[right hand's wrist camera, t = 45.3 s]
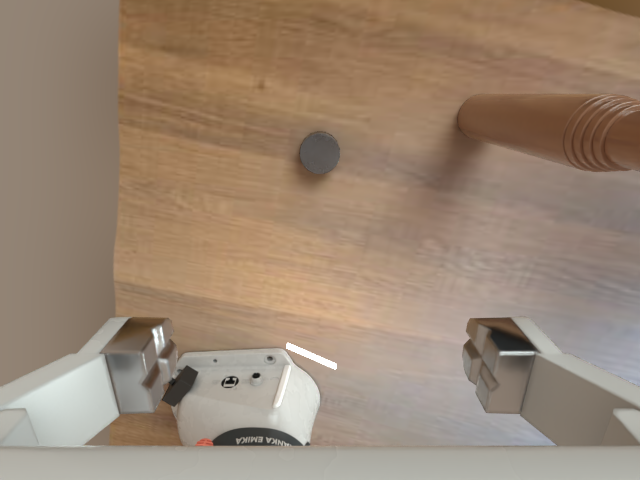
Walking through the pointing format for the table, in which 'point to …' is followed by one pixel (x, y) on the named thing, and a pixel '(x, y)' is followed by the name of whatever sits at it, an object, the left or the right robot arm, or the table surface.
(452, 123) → the table surface
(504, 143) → the bottle
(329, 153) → the cap
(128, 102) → the table surface
